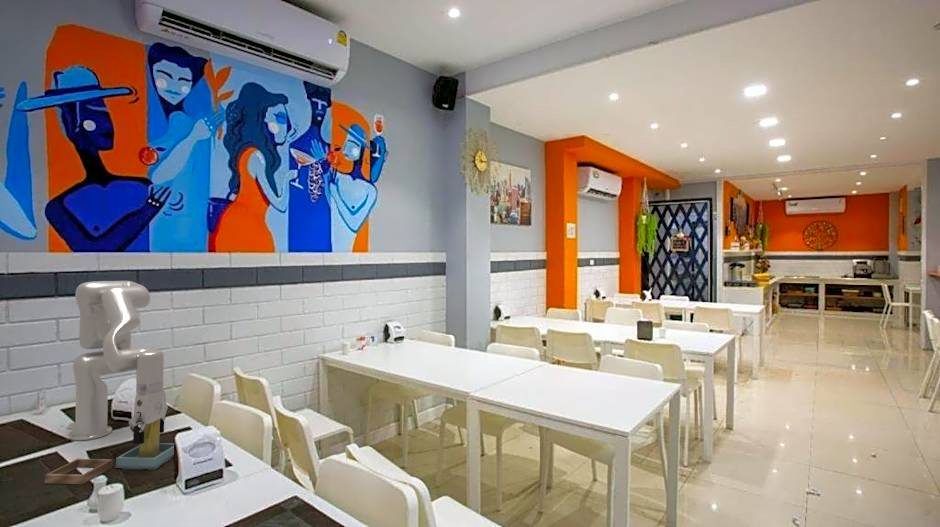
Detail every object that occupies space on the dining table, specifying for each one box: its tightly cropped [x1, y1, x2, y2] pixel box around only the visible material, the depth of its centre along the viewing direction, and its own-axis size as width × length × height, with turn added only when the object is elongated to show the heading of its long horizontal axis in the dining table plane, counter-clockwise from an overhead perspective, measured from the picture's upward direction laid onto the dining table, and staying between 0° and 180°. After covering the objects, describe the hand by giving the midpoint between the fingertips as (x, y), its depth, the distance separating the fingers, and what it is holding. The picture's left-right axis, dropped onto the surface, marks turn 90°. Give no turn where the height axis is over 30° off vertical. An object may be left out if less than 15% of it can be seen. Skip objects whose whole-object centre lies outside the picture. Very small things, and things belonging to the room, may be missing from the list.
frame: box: [44, 458, 114, 485], centre depth 146 cm, size 12×12×2 cm
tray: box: [115, 442, 175, 471], centre depth 157 cm, size 13×13×4 cm
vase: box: [138, 419, 161, 458], centre depth 157 cm, size 6×6×14 cm
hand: (149, 437), depth 157 cm, fingers open, 9 cm apart
